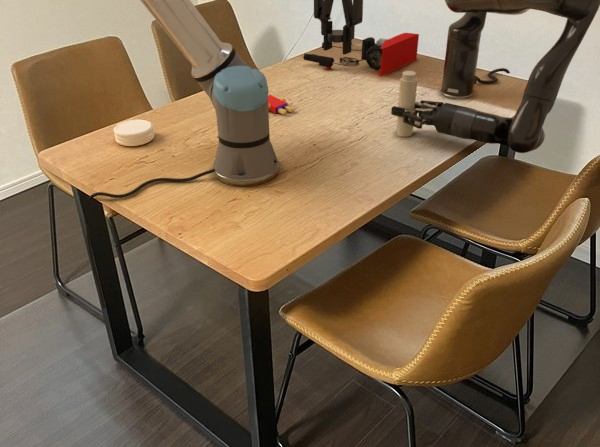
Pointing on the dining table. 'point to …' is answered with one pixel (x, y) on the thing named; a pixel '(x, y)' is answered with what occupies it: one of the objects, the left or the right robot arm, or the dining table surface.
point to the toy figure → (278, 105)
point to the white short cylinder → (134, 132)
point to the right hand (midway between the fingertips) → (396, 107)
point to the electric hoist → (378, 53)
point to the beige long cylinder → (406, 101)
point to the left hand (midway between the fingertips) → (337, 50)
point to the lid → (335, 36)
